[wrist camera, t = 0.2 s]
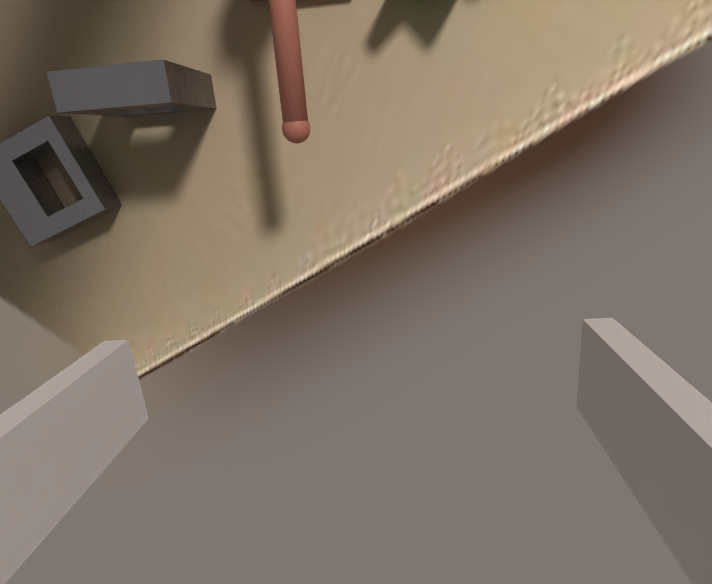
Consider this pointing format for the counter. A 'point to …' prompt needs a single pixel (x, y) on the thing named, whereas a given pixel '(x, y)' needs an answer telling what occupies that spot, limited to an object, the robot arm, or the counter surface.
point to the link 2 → (131, 89)
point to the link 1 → (33, 191)
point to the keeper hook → (289, 69)
